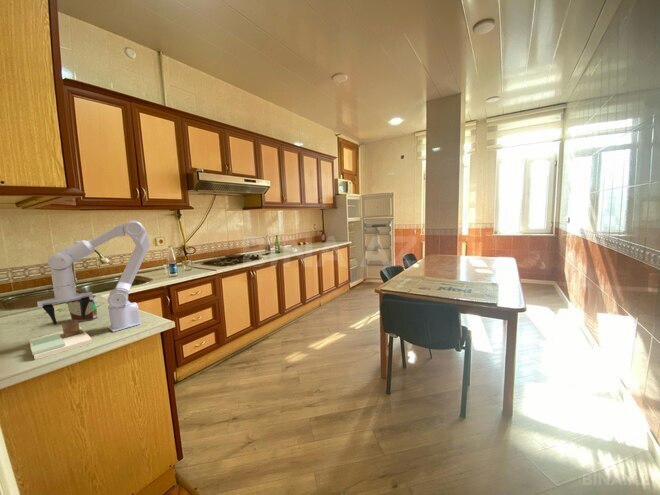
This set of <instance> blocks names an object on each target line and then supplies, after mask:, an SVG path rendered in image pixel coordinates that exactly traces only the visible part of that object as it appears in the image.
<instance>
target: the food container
mask: <svg viewBox="0 0 660 495" xmlns="http://www.w3.org/2000/svg"><path fill="white" fill-rule="evenodd" d="M92 295H93V297H92V298H89V299H90V302H89V304H88V306H87V309H86V312H85V318H82V317H81V307H80V302H79V300H74V301H69V302H65V305H67V307H68V311H69V315H70V319H71V321H72V320H77V321H78V322H79V321H94V320H96V319H97V318H98V308H97V307H98V306H97V305H98V304H97V302H99V298H98V296H97V295H95V294H92Z"/></svg>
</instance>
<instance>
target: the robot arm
mask: <svg viewBox="0 0 660 495" xmlns="http://www.w3.org/2000/svg"><path fill="white" fill-rule="evenodd" d="M125 236H128V237H130V238H131V239H132V242H133V243H134V245H135V246H134V249H133V250H132V253H131V255H130V257H129V259H128V261H127V263H126V265H125V267H124V270H123V272H122V274H121V275H120V278H119V280H118V282H117V283H116V286H115V287H114V288H113V289H111V290H110V292H109V294H108V295H109V296H108V297H107V304H108V308H107V309H108V315H109V323H110V325H108V326H107V328H108V329H109V330H110V331H111V332H114V333H115V332H118V331H121V330H125V329H127V328H131V327H135V326H139V325H141V324H142V322H141V316H140V310H139V306H138V303H137V302H131V301H130V300H129V292H130V289H131V287H132V284H133V282H134V280H135V279H136V276H137V274H138V273H139V269H140V267H141V266H142V263H143V261H144V259H145V257H146V254H147V252H148V250H149V249H150V245H151V243H150V239H149V236H148V233H147V229H146V228H145V227H144V225H143V224H142V223H141V222H139V221H138V220H130V221H127V222H126V223H122V224H119V225H116V226H114V227H112V228H110V229H108V230H107V231H104V232H103V233H101V234H99V235H97V236H95V237H94V238H92V239H90V240H84V239H82V240H80V241H79V240H77V241H74V242H73V243H74V244H73V245H70V246H68V247H66V248H65V249H64V248H62V249H60V250H59V252H58V253H53V255H51V256H50V257H49V258H48V260H47V264H48V266H49V267H50V271H51V281H52V287H53V294H54V297H53V298H47V299H43V300H39V301H37V302H36V303H37V308H39V309H41V308H43V310H44V311H45V313H47V315H48V316H49V318H50V319H51V321H52V323H53V326H55V325H57V324H58V323H57V318H56V315H55V306H54V305H58V304H63V303H66V302H69V301H74V300H79V302H80V307H81V317H82V318H85V312H86V309H87V306H88V304H89V302H90V299H89V298H92V297H93V295H94V294H93V292H92V291H90V292H89V291H88V292H81V293H77V289H76V284H75V282H76V281H75V277H74V276H75V275H74V271H73V266H72V264H73V263H78V262H79V261H81V260H83V259H85V258H86V257H88V256H90V255H92V254H93V253H95V249H96V248H97V247H99V246H101V245H103V244H105V243H106V242H109V241H110V240H112V239H115V238H117V237H125Z"/></svg>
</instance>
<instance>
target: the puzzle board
mask: <svg viewBox="0 0 660 495" xmlns="http://www.w3.org/2000/svg"><path fill="white" fill-rule="evenodd" d="M79 329H80V334H78V335H75V336H71V337H67V338H64V333H63V330H62V331H57V332H54V333H49V334H46V335H42V336H38V337H34V338H31V339H28V342H29V347H30V346H33V345H32V340H35V339H39V338H43V337H47V336H51V335H55V334H59V338H62V339H63V341H64V342H65V346H62V347H58V348H55V349H52V350H48V351H45V352H41V353H38V354H34V355H33V354H32V356H33V359H34V361H37V360H39V359H43V358H46V357H49V356H53V355H56V354H59V353H64V352H65V351H70V350H74V349H77V348H79V347H83V346H86V345H90V344H92V343H93V339H92V337H91V336H90V335H89V333H87V331H86V330H84V328H82V327H81V326H79Z"/></svg>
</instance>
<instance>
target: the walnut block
mask: <svg viewBox="0 0 660 495" xmlns="http://www.w3.org/2000/svg"><path fill="white" fill-rule="evenodd" d="M61 326H62V331H63V333H64V338H67V337H71V336H75V335H78V334H81V333H80V329H79V327H80V323H79V321H77V320H72V319H71V320H68V321H65V322H62V323H61ZM64 338H63V339H64Z"/></svg>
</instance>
